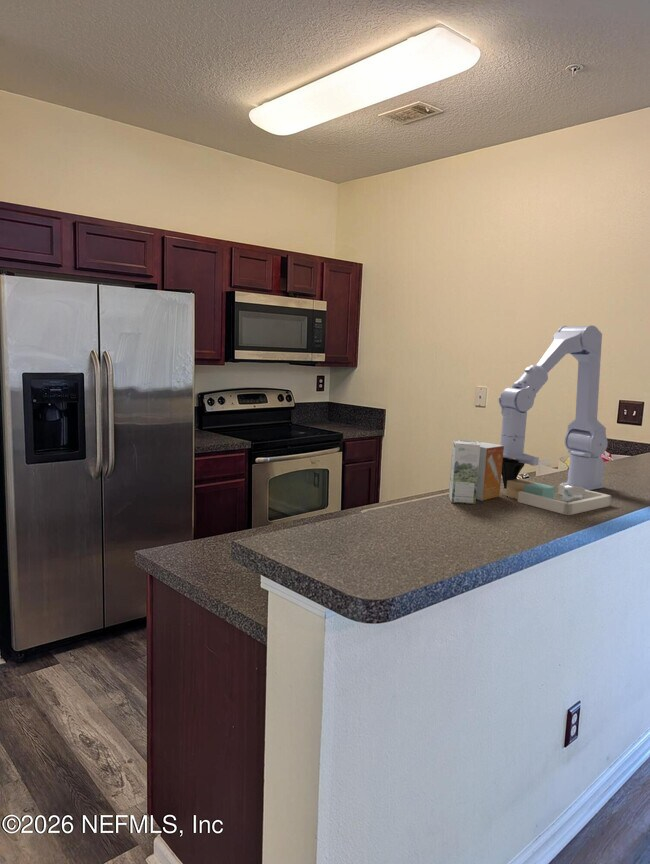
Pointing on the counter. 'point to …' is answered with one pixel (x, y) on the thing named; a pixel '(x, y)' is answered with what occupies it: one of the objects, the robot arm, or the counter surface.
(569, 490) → the aluminium part
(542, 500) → the frame
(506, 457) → the robot arm
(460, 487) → the syrup box
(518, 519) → the counter surface
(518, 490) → the oak block
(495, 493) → the small box
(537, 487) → the teal block
